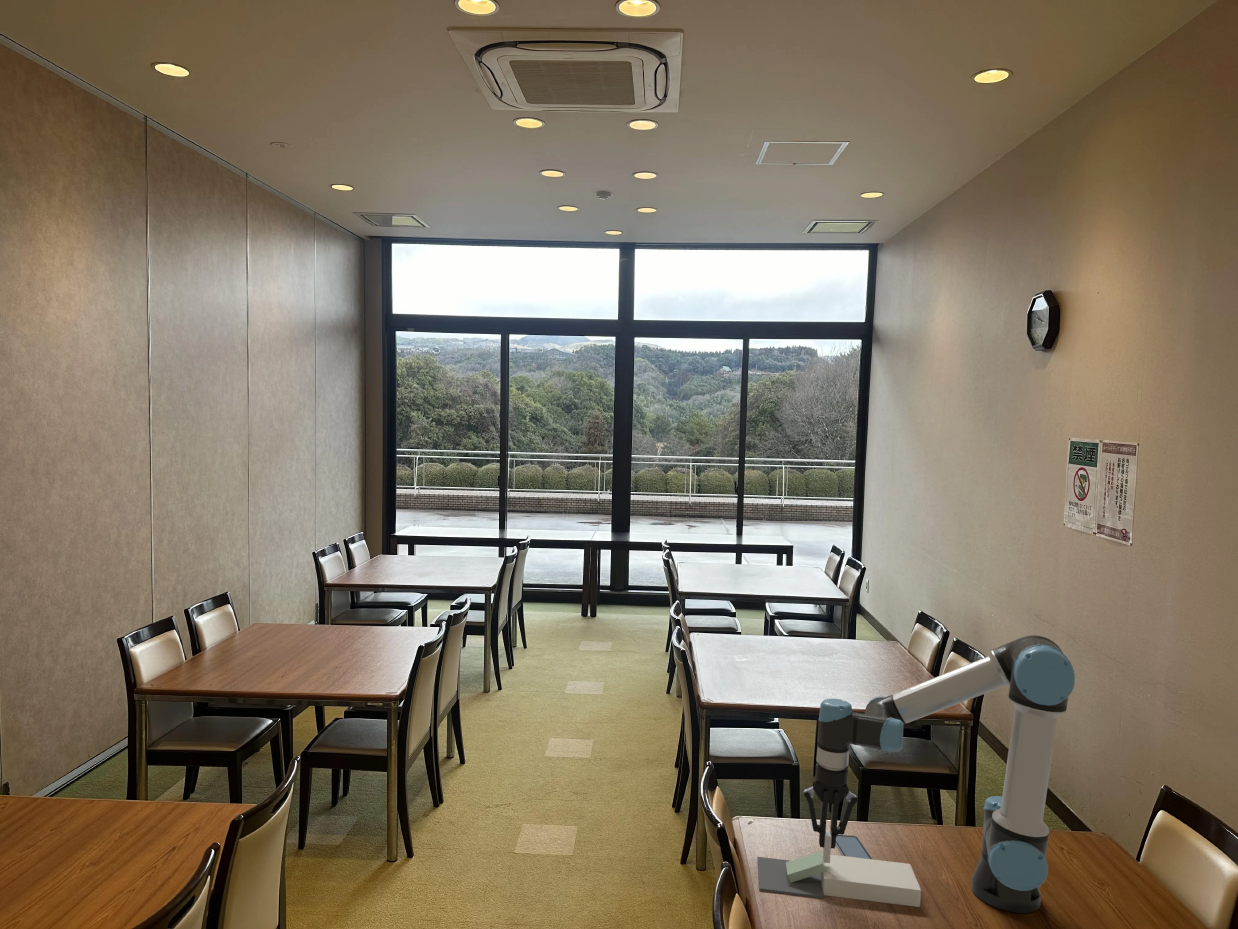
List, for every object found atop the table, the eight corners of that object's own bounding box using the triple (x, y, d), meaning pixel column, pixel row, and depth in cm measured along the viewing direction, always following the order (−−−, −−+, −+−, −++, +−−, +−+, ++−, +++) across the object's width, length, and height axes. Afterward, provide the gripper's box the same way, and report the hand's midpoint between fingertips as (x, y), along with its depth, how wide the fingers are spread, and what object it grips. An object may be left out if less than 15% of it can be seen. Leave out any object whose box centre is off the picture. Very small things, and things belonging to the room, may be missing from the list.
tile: (823, 858, 201) (820, 851, 201) (826, 871, 195) (822, 863, 195) (788, 869, 203) (785, 862, 203) (790, 882, 197) (787, 875, 197)
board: (908, 879, 202) (909, 864, 202) (919, 907, 190) (921, 890, 190) (818, 868, 205) (818, 853, 205) (823, 895, 193) (824, 878, 193)
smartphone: (856, 835, 223) (875, 863, 208) (856, 839, 223) (875, 866, 208) (829, 834, 223) (847, 862, 208) (829, 838, 223) (847, 865, 208)
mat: (817, 865, 206) (817, 863, 206) (824, 898, 191) (824, 896, 191) (757, 858, 208) (757, 856, 208) (759, 890, 193) (759, 888, 193)
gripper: (857, 761, 201) (851, 855, 201) (803, 756, 202) (797, 849, 203) (862, 773, 193) (855, 871, 194) (806, 767, 195) (800, 864, 196)
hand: (826, 860), depth 198 cm, fingers closed
